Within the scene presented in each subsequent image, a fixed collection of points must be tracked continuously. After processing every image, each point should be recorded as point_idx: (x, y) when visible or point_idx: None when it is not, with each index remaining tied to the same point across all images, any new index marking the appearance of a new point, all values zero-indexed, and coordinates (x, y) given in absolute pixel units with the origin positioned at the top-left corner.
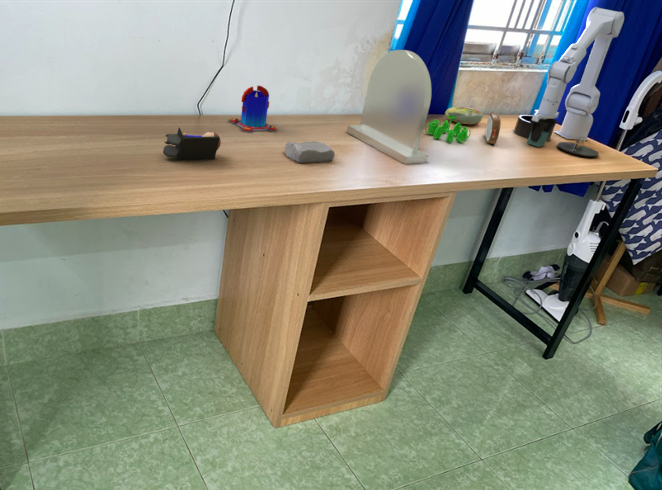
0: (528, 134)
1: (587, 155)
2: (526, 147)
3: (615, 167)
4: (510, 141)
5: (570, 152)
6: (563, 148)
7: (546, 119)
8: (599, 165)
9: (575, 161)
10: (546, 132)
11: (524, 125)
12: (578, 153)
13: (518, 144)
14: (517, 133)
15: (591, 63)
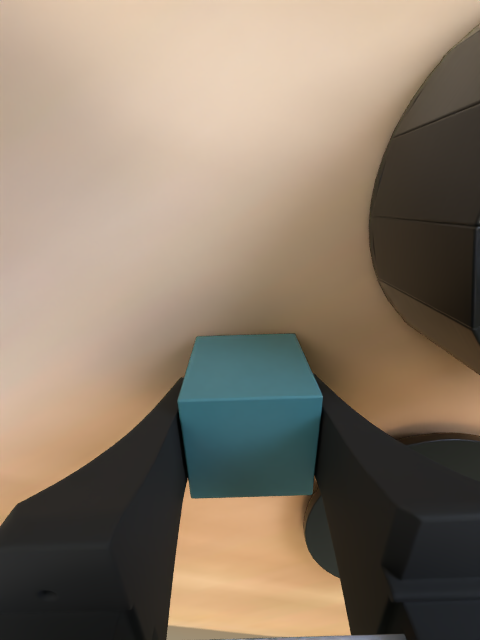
0: (385, 249)
1: (339, 577)
2: (122, 373)
3: (342, 623)
4: (98, 240)
5: (304, 530)
6: (320, 502)
7: (380, 598)
8: (294, 602)
9: (224, 560)
10: (301, 482)
11: (450, 161)
12: (318, 557)
13: (111, 314)
14: (405, 114)
15: None
